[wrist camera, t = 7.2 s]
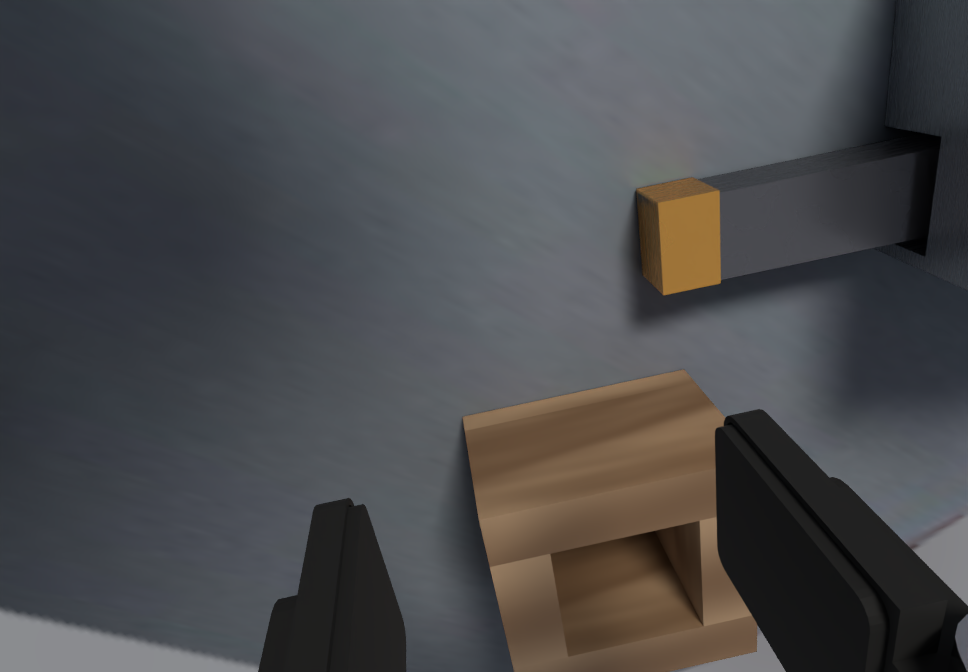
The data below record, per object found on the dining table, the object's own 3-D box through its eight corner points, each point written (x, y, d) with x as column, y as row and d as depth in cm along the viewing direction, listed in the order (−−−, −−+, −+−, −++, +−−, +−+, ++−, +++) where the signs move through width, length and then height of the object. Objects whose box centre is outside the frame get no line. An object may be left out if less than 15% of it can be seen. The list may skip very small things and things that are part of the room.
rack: (462, 416, 25) (478, 519, 20) (684, 369, 26) (760, 458, 20) (499, 581, 29) (521, 704, 24) (691, 538, 29) (756, 651, 24)
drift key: (636, 188, 22) (658, 202, 20) (1077, 98, 23) (1139, 104, 21) (642, 274, 24) (663, 295, 22) (1058, 187, 24) (1114, 200, 22)
